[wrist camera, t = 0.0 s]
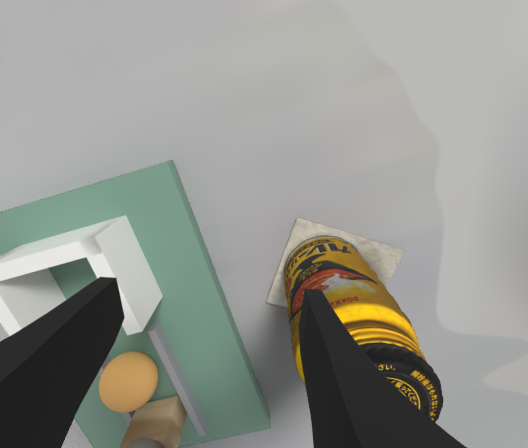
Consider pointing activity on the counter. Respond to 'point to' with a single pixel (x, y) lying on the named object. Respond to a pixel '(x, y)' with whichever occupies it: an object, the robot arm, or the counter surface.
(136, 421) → the grey and tan mallet
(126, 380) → the ball
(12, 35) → the counter surface
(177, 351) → the pitch
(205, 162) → the counter surface
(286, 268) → the condiment
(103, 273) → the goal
